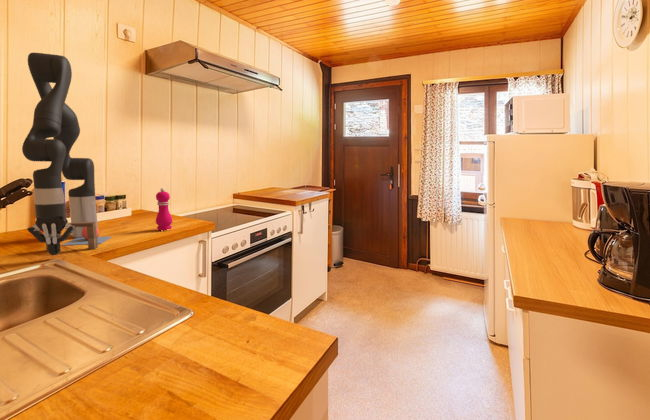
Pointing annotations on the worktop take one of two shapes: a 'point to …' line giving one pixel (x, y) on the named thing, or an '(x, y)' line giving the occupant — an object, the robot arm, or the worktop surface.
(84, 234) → the ball
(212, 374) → the worktop surface
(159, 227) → the pepper mill
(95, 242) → the bridge
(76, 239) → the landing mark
